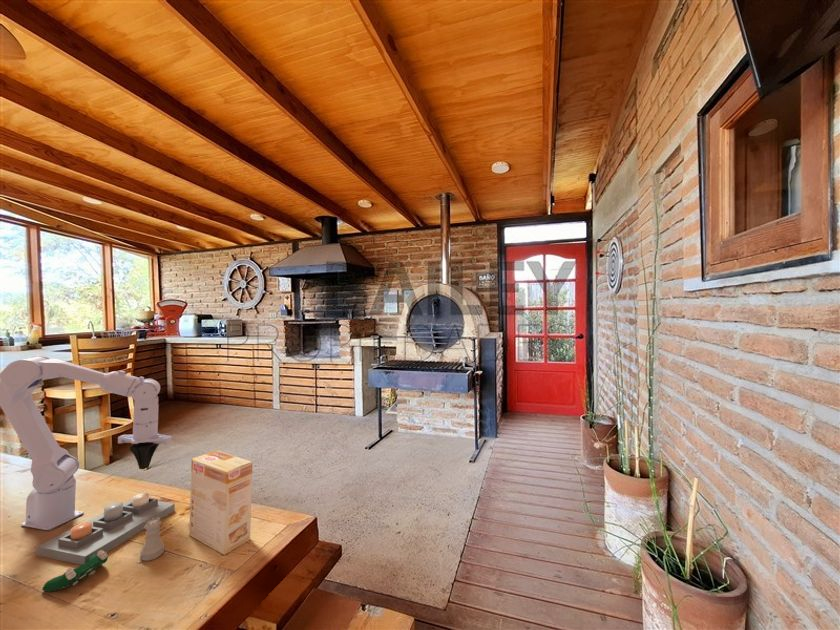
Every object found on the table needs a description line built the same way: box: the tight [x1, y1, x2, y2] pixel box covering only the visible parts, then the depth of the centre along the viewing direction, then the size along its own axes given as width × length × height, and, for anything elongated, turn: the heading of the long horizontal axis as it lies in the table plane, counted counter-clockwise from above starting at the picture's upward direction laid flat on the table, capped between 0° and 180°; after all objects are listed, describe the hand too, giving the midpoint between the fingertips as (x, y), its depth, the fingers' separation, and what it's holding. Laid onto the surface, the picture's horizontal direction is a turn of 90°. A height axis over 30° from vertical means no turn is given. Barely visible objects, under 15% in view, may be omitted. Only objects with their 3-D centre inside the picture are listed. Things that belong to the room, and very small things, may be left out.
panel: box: [35, 496, 176, 566], centre depth 87 cm, size 14×22×4 cm, turn 169°
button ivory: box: [131, 492, 150, 508], centre depth 94 cm, size 4×4×3 cm
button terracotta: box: [70, 521, 92, 541], centre depth 80 cm, size 4×4×3 cm
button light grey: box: [103, 502, 124, 522], centre depth 87 cm, size 4×4×3 cm
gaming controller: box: [41, 550, 109, 592], centre depth 72 cm, size 9×4×6 cm
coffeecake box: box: [188, 450, 254, 556], centre depth 86 cm, size 15×7×20 cm, turn 62°
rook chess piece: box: [139, 517, 165, 562], centre depth 79 cm, size 4×4×8 cm
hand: (144, 467), depth 100 cm, fingers closed
